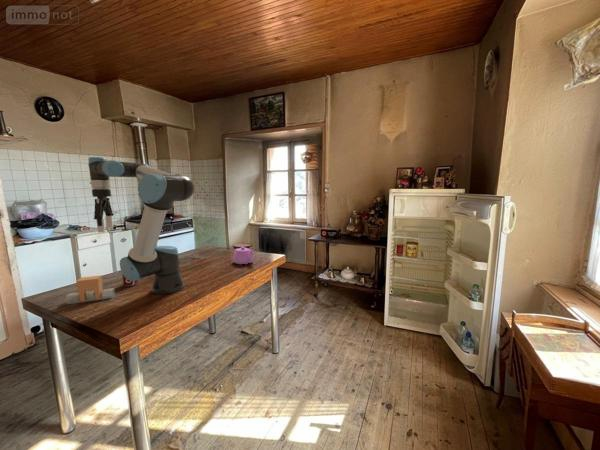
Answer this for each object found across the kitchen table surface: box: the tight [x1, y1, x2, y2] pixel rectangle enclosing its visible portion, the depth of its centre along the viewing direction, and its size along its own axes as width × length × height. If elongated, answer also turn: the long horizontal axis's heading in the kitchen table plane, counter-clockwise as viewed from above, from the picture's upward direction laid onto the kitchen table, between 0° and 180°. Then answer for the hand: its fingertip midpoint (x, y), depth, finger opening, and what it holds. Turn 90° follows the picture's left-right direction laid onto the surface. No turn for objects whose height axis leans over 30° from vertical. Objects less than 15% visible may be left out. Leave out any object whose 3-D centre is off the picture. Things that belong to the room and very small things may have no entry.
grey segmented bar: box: [65, 287, 116, 305], centre depth 124 cm, size 18×4×4 cm, turn 112°
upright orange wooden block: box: [76, 275, 104, 301], centre depth 123 cm, size 8×5×10 cm, turn 112°
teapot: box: [232, 246, 255, 265], centre depth 182 cm, size 20×13×12 cm, turn 55°
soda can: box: [121, 272, 139, 287], centre depth 142 cm, size 7×7×12 cm
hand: (105, 230), depth 133 cm, fingers open, 13 cm apart
